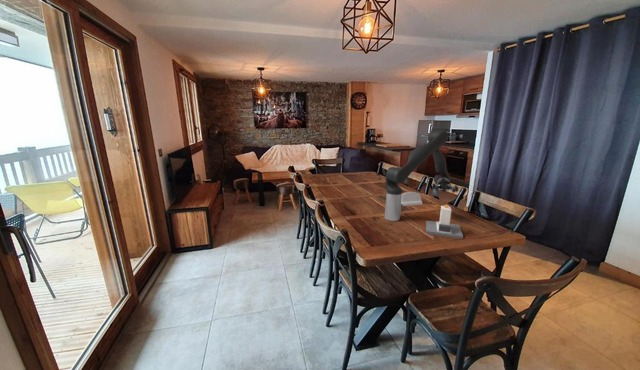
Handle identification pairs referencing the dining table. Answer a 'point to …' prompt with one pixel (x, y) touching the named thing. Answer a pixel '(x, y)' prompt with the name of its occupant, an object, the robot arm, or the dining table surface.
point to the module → (445, 215)
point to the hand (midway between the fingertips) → (445, 190)
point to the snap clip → (444, 227)
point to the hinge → (411, 199)
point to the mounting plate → (434, 229)
